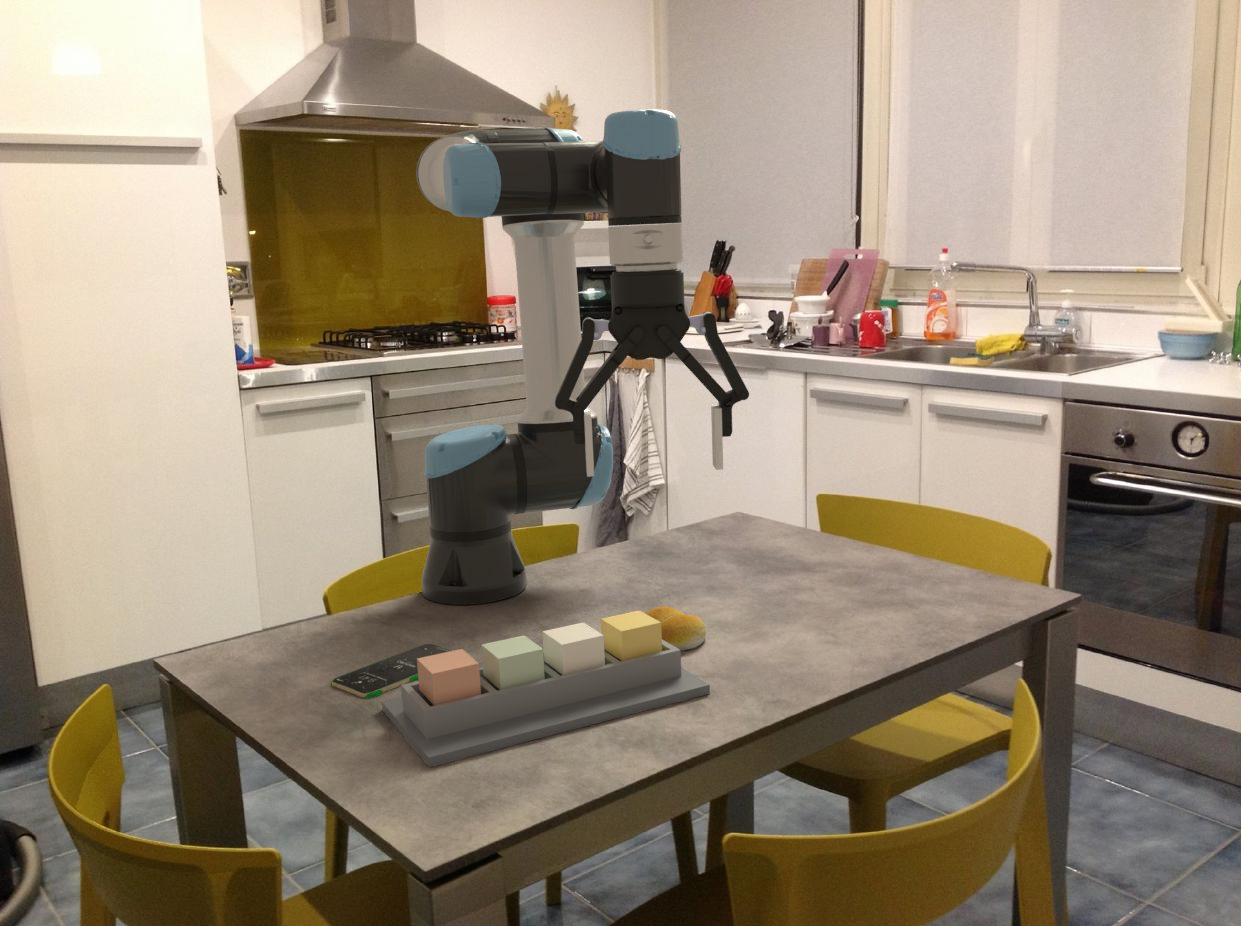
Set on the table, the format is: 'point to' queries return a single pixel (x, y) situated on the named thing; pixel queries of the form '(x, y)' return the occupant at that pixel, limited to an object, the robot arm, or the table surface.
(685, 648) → the bread roll
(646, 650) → the key mustard
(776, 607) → the table surface
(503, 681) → the key sage
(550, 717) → the grey compartment tray
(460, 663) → the key terracotta
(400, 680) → the smartphone
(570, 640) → the key ivory
